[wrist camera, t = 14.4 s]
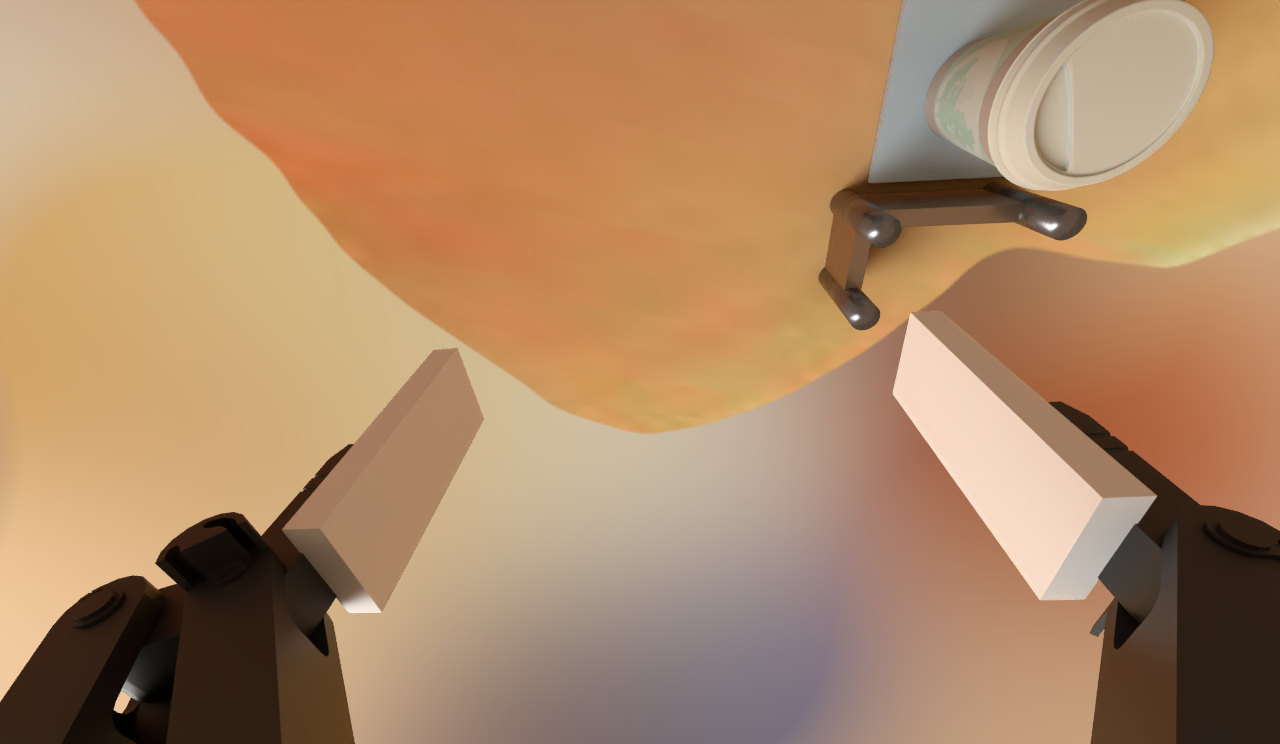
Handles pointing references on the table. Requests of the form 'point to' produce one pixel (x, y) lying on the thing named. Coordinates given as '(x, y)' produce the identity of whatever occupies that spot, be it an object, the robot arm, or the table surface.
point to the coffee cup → (1075, 91)
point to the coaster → (926, 37)
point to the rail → (888, 212)
